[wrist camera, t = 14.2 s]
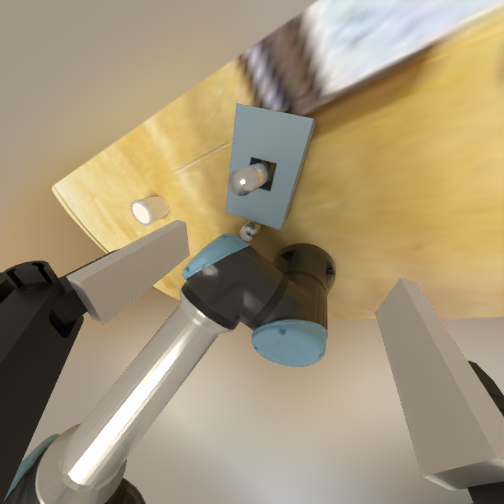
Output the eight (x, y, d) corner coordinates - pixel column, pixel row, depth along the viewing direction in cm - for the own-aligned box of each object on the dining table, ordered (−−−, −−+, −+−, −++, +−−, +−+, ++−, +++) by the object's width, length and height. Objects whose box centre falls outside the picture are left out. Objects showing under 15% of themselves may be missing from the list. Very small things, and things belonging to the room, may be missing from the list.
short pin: (260, 232, 46) (252, 243, 41) (247, 228, 46) (238, 238, 41) (263, 219, 44) (255, 229, 39) (249, 215, 44) (240, 224, 39)
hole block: (286, 217, 41) (279, 229, 36) (239, 203, 44) (225, 212, 38) (316, 122, 31) (313, 118, 25) (251, 109, 33) (236, 103, 28)
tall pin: (276, 180, 38) (250, 199, 25) (261, 175, 39) (227, 192, 26) (281, 161, 36) (254, 173, 23) (264, 157, 37) (230, 166, 24)
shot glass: (174, 210, 52) (155, 218, 46) (163, 221, 55) (144, 230, 50) (158, 189, 50) (136, 195, 44) (147, 201, 54) (126, 208, 48)
